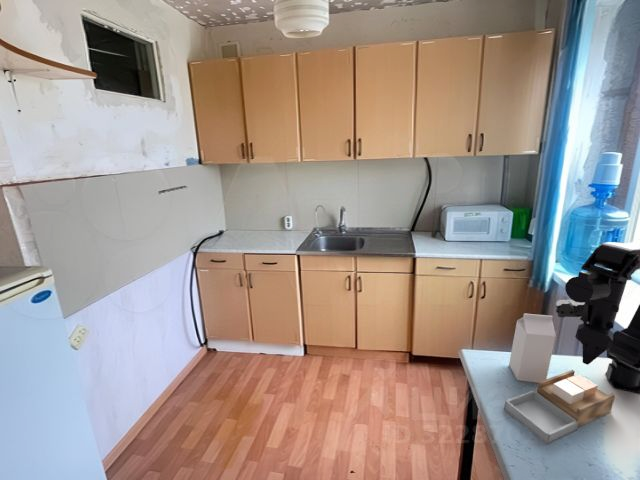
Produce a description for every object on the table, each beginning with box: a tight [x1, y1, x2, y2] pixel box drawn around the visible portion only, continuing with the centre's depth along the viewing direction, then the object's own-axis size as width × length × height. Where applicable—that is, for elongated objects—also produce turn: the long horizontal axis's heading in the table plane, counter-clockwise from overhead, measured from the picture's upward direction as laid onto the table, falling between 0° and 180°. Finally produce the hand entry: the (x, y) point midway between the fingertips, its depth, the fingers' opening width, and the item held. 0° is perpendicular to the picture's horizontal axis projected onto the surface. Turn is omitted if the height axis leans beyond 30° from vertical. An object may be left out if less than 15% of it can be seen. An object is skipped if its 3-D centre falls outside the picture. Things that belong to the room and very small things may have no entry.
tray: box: [503, 390, 579, 445], centre depth 80 cm, size 10×11×2 cm
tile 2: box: [567, 374, 598, 399], centre depth 84 cm, size 4×4×2 cm
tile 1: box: [552, 379, 585, 404], centre depth 82 cm, size 4×4×2 cm
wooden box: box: [536, 369, 616, 428], centre depth 84 cm, size 13×10×5 cm
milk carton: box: [508, 313, 557, 384], centre depth 93 cm, size 7×7×19 cm
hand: (587, 355), depth 82 cm, fingers open, 9 cm apart
